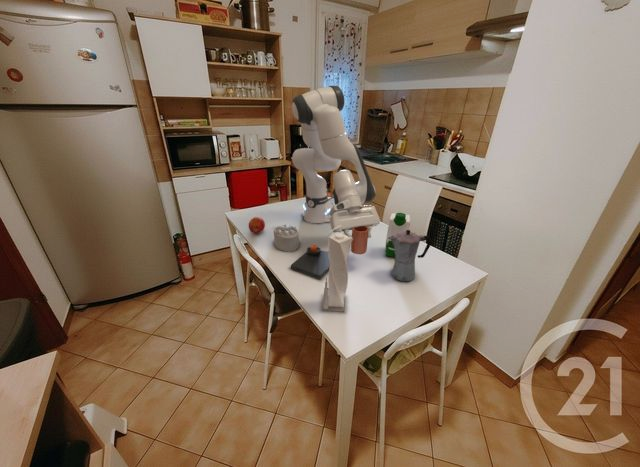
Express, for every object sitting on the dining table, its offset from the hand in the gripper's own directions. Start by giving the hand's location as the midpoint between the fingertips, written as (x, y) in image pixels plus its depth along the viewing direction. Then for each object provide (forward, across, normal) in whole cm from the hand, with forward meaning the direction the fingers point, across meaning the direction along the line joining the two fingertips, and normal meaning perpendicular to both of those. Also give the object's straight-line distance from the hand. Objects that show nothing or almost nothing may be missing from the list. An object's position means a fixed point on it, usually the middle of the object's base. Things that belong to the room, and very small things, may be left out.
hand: (360, 239), depth 102 cm
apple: (-22, +35, -42) cm, 59 cm away
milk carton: (+7, -21, -13) cm, 26 cm away
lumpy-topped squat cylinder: (-10, +23, -30) cm, 39 cm away
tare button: (-3, +14, -18) cm, 23 cm away
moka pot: (+17, -15, -2) cm, 23 cm away
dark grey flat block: (+4, +16, -15) cm, 22 cm away
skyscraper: (+21, +16, +2) cm, 27 cm away
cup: (+3, 0, -4) cm, 5 cm away
